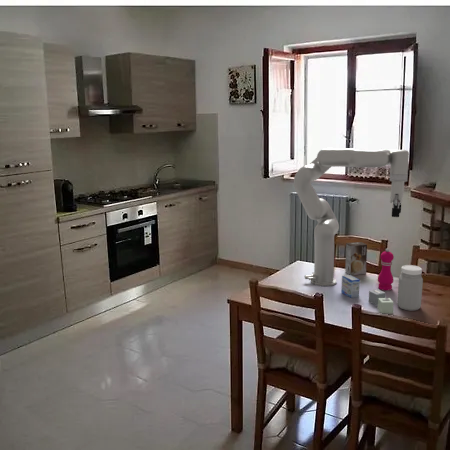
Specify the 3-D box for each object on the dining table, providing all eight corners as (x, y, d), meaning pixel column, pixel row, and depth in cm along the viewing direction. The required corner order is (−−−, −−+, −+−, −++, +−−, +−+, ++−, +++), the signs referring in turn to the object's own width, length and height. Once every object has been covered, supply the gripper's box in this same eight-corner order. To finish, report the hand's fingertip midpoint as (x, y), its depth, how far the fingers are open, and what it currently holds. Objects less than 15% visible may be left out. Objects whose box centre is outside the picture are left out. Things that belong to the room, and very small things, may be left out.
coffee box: (360, 270, 268) (362, 241, 265) (366, 274, 262) (367, 244, 259) (344, 271, 266) (346, 242, 263) (350, 275, 260) (351, 245, 257)
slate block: (376, 305, 220) (376, 294, 219) (368, 301, 225) (369, 290, 224) (385, 303, 222) (385, 292, 221) (377, 299, 227) (378, 289, 226)
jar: (425, 309, 214) (428, 269, 210) (406, 312, 212) (409, 272, 208) (411, 301, 223) (414, 263, 219) (392, 304, 221) (394, 265, 217)
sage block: (381, 313, 211) (381, 302, 210) (377, 308, 216) (378, 297, 215) (392, 313, 211) (393, 301, 210) (389, 308, 216) (389, 297, 215)
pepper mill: (393, 291, 237) (396, 250, 232) (378, 290, 238) (380, 250, 234) (392, 286, 243) (394, 246, 239) (376, 285, 245) (378, 246, 240)
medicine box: (340, 292, 236) (341, 275, 234) (348, 291, 237) (349, 274, 235) (351, 298, 228) (352, 280, 227) (359, 297, 230) (360, 279, 228)
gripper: (391, 175, 234) (389, 210, 237) (388, 179, 218) (385, 218, 222) (408, 175, 231) (406, 211, 235) (406, 180, 215) (403, 219, 219)
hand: (396, 214), depth 228 cm, fingers open, 9 cm apart
